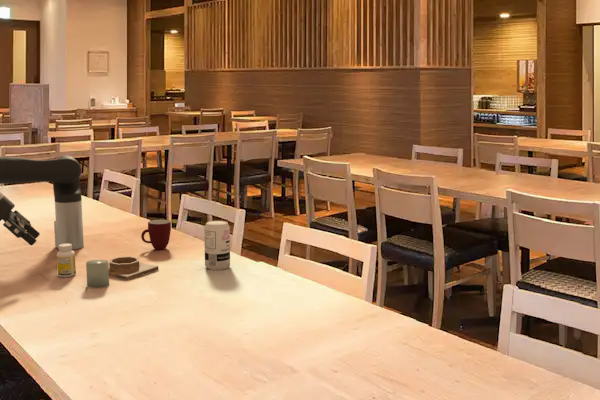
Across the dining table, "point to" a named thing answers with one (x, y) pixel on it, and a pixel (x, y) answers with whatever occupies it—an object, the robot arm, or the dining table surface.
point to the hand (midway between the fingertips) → (36, 239)
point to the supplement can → (217, 245)
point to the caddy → (129, 268)
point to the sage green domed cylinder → (97, 273)
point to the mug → (158, 233)
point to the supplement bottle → (66, 261)
